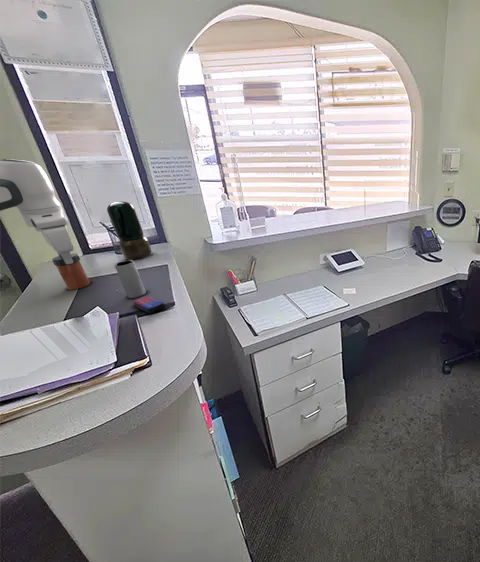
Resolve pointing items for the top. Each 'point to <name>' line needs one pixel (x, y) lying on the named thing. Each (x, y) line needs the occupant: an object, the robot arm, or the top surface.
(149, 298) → the eraser
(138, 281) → the planter
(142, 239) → the lamp
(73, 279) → the jar
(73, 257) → the jar lid
